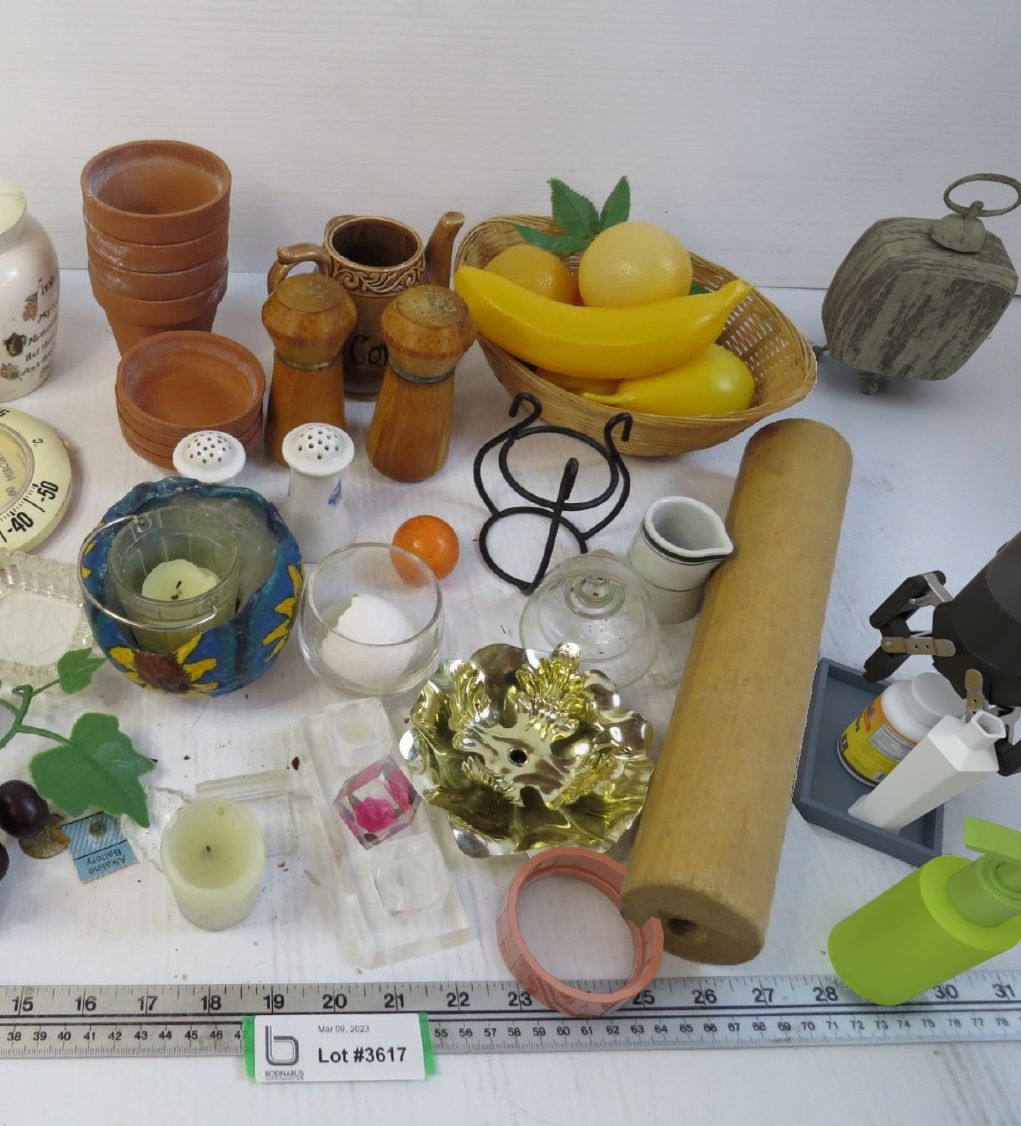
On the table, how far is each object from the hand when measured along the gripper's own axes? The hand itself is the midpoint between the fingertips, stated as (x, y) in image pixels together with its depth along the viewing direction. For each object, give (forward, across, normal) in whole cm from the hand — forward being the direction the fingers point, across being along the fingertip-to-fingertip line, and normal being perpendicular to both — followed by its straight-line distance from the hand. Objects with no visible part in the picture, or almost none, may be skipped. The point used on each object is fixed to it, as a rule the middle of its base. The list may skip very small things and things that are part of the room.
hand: (910, 722), depth 73 cm
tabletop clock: (+7, +41, -33) cm, 53 cm away
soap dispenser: (+7, -13, +12) cm, 19 cm away
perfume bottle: (+7, -4, +3) cm, 8 cm away
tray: (+7, 0, 0) cm, 7 cm away
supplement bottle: (+6, 0, 0) cm, 6 cm away
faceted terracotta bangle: (+7, -6, +31) cm, 32 cm away
